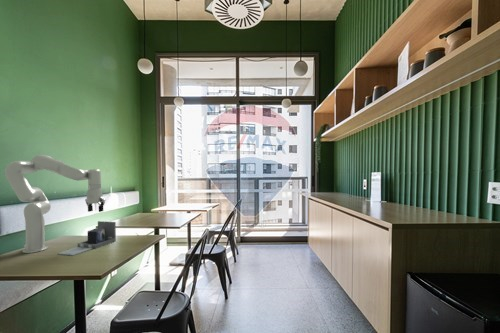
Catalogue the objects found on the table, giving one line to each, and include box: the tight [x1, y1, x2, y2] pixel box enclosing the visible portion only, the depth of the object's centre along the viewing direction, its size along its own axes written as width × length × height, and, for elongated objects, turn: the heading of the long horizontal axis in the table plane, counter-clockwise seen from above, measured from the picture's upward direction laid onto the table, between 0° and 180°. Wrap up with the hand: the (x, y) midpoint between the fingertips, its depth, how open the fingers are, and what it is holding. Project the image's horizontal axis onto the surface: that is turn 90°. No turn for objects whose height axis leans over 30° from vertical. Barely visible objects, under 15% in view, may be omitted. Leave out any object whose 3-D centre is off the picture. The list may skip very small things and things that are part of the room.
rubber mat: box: [57, 246, 94, 257], centre depth 158 cm, size 13×13×1 cm
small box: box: [87, 227, 105, 244], centre depth 173 cm, size 11×6×10 cm, turn 179°
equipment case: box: [77, 220, 117, 249], centre depth 173 cm, size 15×18×14 cm
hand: (95, 211), depth 173 cm, fingers open, 9 cm apart
